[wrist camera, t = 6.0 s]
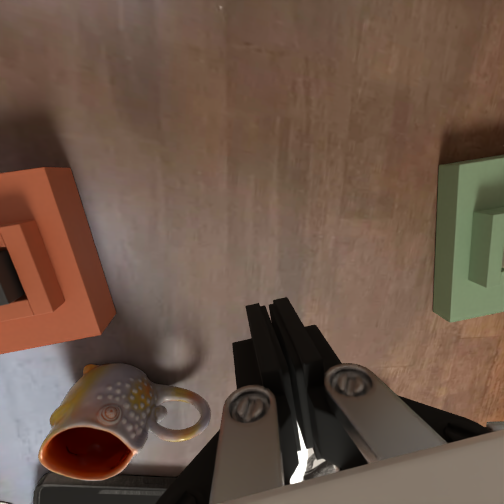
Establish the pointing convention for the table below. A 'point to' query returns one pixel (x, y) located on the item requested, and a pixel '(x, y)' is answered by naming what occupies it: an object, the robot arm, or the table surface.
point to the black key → (8, 280)
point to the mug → (112, 421)
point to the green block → (469, 239)
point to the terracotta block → (50, 262)
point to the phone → (100, 490)
